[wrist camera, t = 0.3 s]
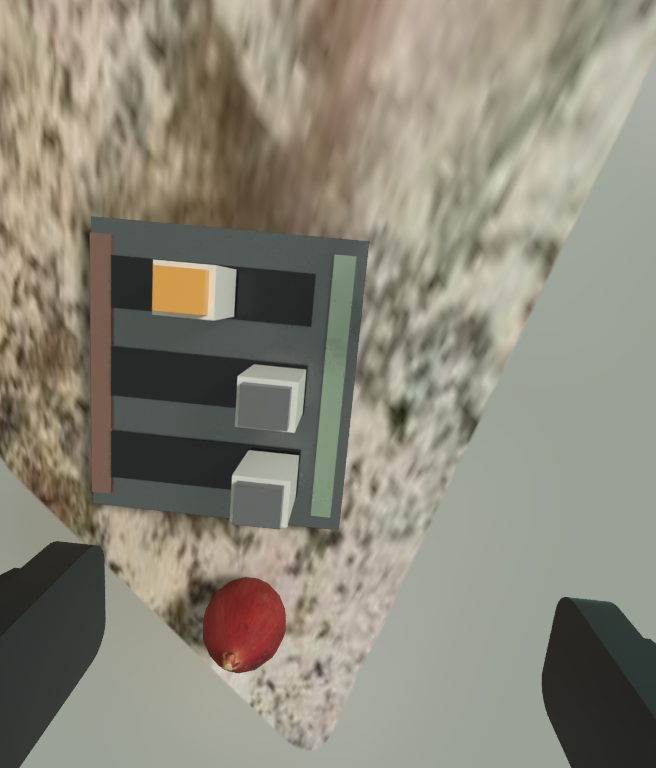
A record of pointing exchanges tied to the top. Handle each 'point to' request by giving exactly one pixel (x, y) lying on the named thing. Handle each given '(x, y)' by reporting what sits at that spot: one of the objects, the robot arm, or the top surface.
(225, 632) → the onion
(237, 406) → the breaker
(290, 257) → the breaker board
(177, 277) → the block
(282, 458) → the breaker
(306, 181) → the top surface
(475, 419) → the top surface
